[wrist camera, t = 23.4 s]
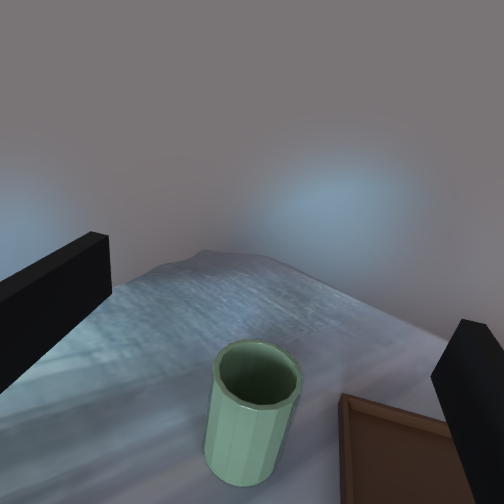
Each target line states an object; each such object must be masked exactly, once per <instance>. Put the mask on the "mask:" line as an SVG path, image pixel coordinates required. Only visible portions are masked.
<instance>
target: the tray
mask: <svg viewBox="0 0 504 504" xmlns="http://www.w3.org/2000/svg"><path fill="white" fill-rule="evenodd" d="M338 416H339V455H340V493H341V504H476V503H475V500H474V497H473V495H472V492H471V489H470V486H469V483H468V481H467V478H466V475H465V472H464V469H463V467H462V464H461V461H460V458H459V455H458V453H457V450H456V447H455V444H454V441H453V439H452V436H451V433H450V430H449V427H448V425H447V422H444V421H440V420H437V419H433V418H430V417H426V416H423V415H419V414H416V413H412V412H408V411H405V410H401V409H398V408H394V407H391V406H387V405H384V404H380V403H376V402H373V401H369V400H366V399H362V398H359V397H355V396H352V395H348V394H345V393H342V395H341V398H340V400H339V403H338Z"/></svg>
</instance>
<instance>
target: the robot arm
mask: <svg viewBox="0 0 504 504" xmlns="http://www.w3.org/2000/svg"><path fill="white" fill-rule="evenodd" d="M111 294H112V282H111V266H110V250H109V236H108V235H104V234H100V233H96V232H89V233H87V234H85V235H83V236H82V237H80V238H78V239H76V240H75V241H73V242H71V243H69V244H67V245H65V246H64V247H62V248H60V249H58V250H56V251H55V252H53V253H51V254H49V255H48V256H46V257H44V258H42V259H40V260H39V261H37V262H35V263H33V264H31V265H30V266H28V267H26V268H24V269H22V270H21V271H19V272H17V273H15V274H13V275H12V276H10V277H8V278H6V279H4V280H3V281H1V282H0V394H1V393H2V392H3V391H5V390H6V389H7V388H8V387H9V386H10V385H11V384H12V383H13V382H15V381H16V380H17V379H18V378H19V377H20V376H21V375H22V374H23V373H25V372H26V371H27V370H28V369H29V368H30V367H31V366H32V365H34V364H35V363H36V362H37V361H38V360H39V359H40V358H41V357H42V356H44V355H45V354H46V353H47V352H48V351H49V350H50V349H51V348H52V347H54V346H55V345H56V344H57V343H58V342H59V341H60V340H61V339H62V338H64V337H65V336H66V335H67V334H68V333H69V332H70V331H71V330H72V329H74V328H75V327H76V326H77V325H78V324H79V323H80V322H81V321H82V320H84V319H85V318H86V317H87V316H88V315H89V314H90V313H91V312H92V311H94V310H95V309H96V308H97V307H98V306H99V305H100V304H101V303H102V302H104V301H105V300H106V299H107V298H108V297H109V296H110V295H111ZM430 377H431V380H432V383H433V386H434V388H435V391H436V394H437V397H438V399H439V402H440V405H441V408H442V411H443V413H444V416H445V419H446V422H447V425H448V427H449V430H450V433H451V436H452V439H453V441H454V444H455V447H456V450H457V453H458V455H459V458H460V461H461V464H462V467H463V469H464V472H465V475H466V478H467V481H468V483H469V486H470V489H471V492H472V495H473V497H474V500H475V503H476V504H504V350H503V349H502V347H501V346H500V344H499V343H498V341H497V340H496V338H495V337H494V336H493V334H492V333H491V331H490V330H489V328H488V327H487V325H486V324H482V323H478V322H474V321H470V320H465V319H462V320H461V321H460V323H459V325H458V327H457V329H456V330H455V332H454V334H453V336H452V338H451V340H450V341H449V343H448V345H447V347H446V349H445V350H444V352H443V354H442V356H441V358H440V360H439V361H438V363H437V365H436V367H435V369H434V371H433V372H432V374H431V376H430Z"/></svg>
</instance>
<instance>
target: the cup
mask: <svg viewBox="0 0 504 504" xmlns="http://www.w3.org/2000/svg"><path fill="white" fill-rule="evenodd" d="M302 383H303V375H302V372H301V370H300V367H299V365H298V362H297V361H296V360H295V359H294V358H293V357H292V356H291V355H290V354H289V352H287V351H286V350H284V349H283V348H281V347H279V346H278V345H276V344H274V343H271V342H267V341H263V340H260V339H259V340H258V339H243V340H239V341H236V342H233V343H230V344H228V345H227V346H226V347H225V348H224V349H222V350H221V351H220V352H219V353H218V355H217V357H216V359H215V362H214V364H213V370H212V377H211V385H210V392H209V400H208V407H207V415H206V422H205V430H204V442H203V449H204V455H205V459H206V461H207V463H208V465H209V467H210V469H211V470H212V471H213V473H214V474H215V475H216V476H217V477H219V478H220V479H221V480H223V481H225V482H226V483H229V484H231V485H235V486H240V487H248V486H254V485H257V484H259V483H261V482H263V481H264V480H266V479H267V478H268V477H269V476H270V475H271V474H272V473H273V472H274V470H275V468H276V466H277V464H278V462H279V460H280V457H281V454H282V451H283V448H284V445H285V441H286V438H287V435H288V432H289V429H290V426H291V422H292V419H293V416H294V413H295V410H296V407H297V404H298V400H299V397H300V394H301V391H302Z"/></svg>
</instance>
